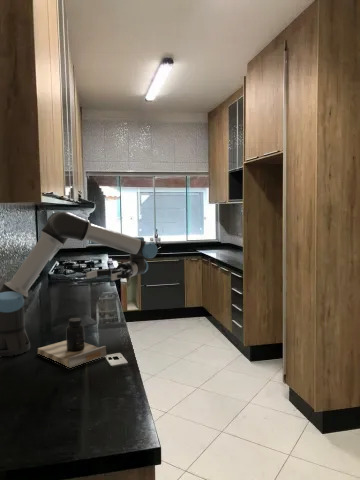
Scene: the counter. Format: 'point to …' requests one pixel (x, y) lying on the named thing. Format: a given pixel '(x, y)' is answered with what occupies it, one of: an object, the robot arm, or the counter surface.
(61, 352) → the shelf board
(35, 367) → the counter surface
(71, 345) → the supplement bottle
